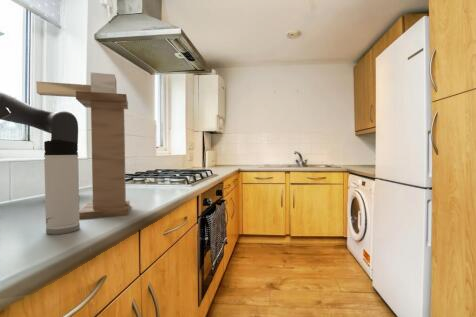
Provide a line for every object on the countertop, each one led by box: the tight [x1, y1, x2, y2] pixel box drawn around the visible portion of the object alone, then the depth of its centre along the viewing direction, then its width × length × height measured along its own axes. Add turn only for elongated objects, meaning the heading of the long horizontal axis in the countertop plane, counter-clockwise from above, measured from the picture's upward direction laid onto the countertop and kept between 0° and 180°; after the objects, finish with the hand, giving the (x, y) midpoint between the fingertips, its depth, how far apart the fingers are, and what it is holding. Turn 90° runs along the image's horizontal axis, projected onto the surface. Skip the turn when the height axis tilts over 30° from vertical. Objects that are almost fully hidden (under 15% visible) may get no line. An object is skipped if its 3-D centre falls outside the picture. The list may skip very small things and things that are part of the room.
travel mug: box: [43, 138, 81, 236], centre depth 60 cm, size 6×7×20 cm
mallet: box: [35, 71, 118, 98], centre depth 76 cm, size 7×19×6 cm, turn 110°
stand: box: [75, 91, 131, 220], centre depth 79 cm, size 14×12×33 cm
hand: (1, 108), depth 71 cm, fingers open, 8 cm apart
